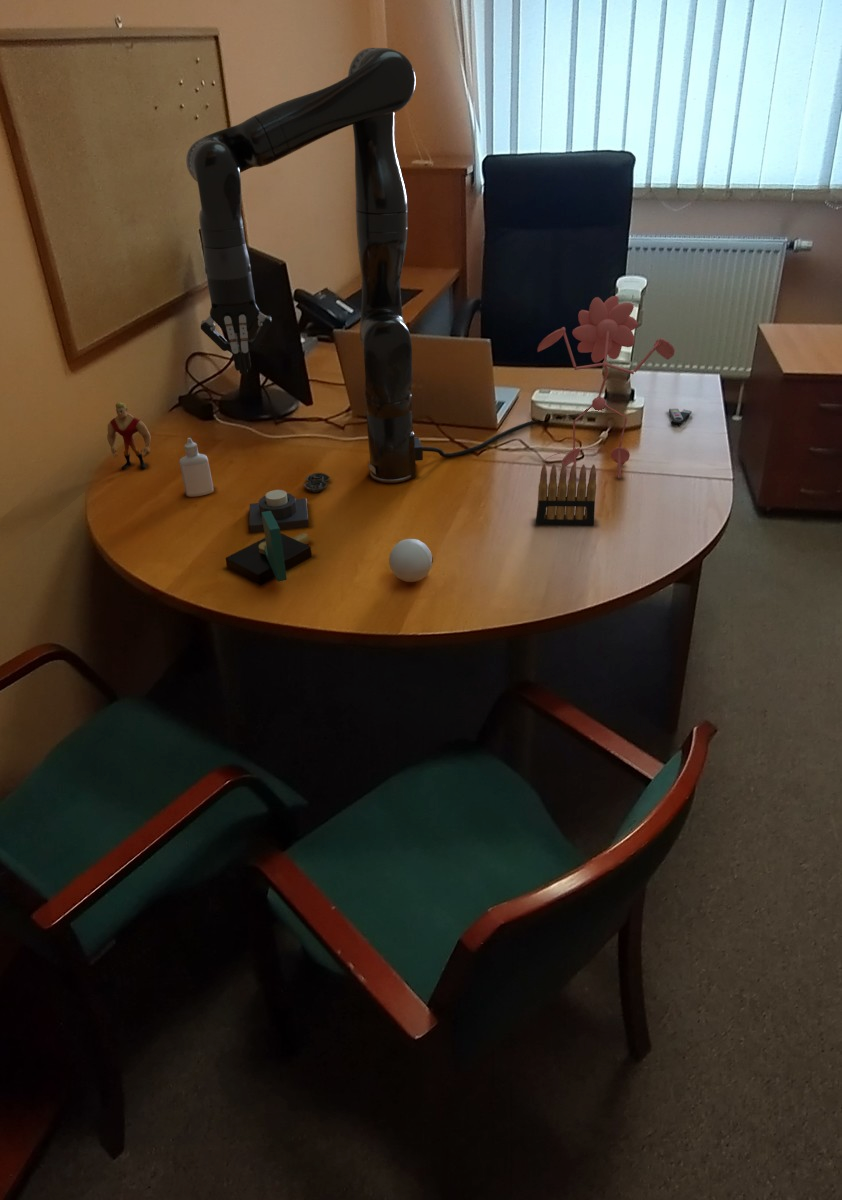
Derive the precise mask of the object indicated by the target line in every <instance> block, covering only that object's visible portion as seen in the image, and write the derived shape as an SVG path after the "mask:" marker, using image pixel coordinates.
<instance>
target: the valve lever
mask: <svg viewBox="0 0 842 1200" xmlns="http://www.w3.org/2000/svg"><path fill="white" fill-rule="evenodd" d="M261 514H262V520H263V527H264V532H263V533H264V538H265V540H266V541H265V542H262V543H260V544H259V552H260V553H262V554H265V555H266V557H267V560H268V562H269V564H270V566H271V568H272V571H273V573H274V575H275V580H276V582H278V583H279V582H284V581H287V580H288V577H287V571H286V570H285V563H284V556H283V549H282V542H281V534H280V533H281V530H280V528H279V526H278V524H277V522H276V520H275V518H274V516H273V514H272V512H271V511H266V512H261Z"/></svg>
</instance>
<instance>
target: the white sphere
mask: <svg viewBox="0 0 842 1200" xmlns="http://www.w3.org/2000/svg"><path fill="white" fill-rule="evenodd" d="M388 557H389V558H388V563H389V568H390V570H391V572H392V573H393V575H394V576H395V577H396V578H397V579H400V580H401V581H403V582H406V583H415V582H419V581H421V580H423V579H424V578H426V576H428V574H429V572H430V571H431V569H432V566H433V563H434V557H433V556H432V552H431V550H430V548H429V546H428V545H427V544H426V543H424V542H422V541H421V540H419V539H417V538H404V539H401V540H400V541H399V542H397V543H396V544H395V545H394V546H393V547H392V549H391V551H390V552H389V556H388Z"/></svg>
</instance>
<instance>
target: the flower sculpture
mask: <svg viewBox="0 0 842 1200" xmlns="http://www.w3.org/2000/svg"><path fill="white" fill-rule="evenodd" d="M619 302H620V301H619V296H617V295H611V296H610V297H608V298H607V299H606V300H605V301H604V302H603V300H602V299H601V298H600V297H599V296H596V297H594V298H593V299H592V300H591V303H590V304H589V309H588V310H586V309H581V310H580V311H579V312H578V317H577V319H578V323H579V326H576V327H575V328H573V329H572V332H571V333H572V336H573V337H574V338H575V340H578V341H579V343H578V345H577V352H579V353H580V354H584V353H585V354H587V353H591V355H590V357H591V361H592V362H593V363H594V364H593V363H592V364H587V365H579V366H577V363H576V360H575V357H574V355H573V351H572V349H571V345H570V342H569V338H568V336H567V333H566V330H567V329H566V327H565V326H563V327H560V328H559V329H556V330H554V331H552V332H551V333H549V334H547V335H546V336H545V337H544V338H543V339H542V340H540V343H538V346H537V350H536V351H537V353H539V352H542V351H544V350H546V349H547V348H549V347H552V346H553V345H554V344H555V343H557V342H558V341H560V339H561V338H562V337H563V338H564V342H565V345H566V348H567V351H568V355H569V357H570V361H571V363H572V367H573V368H574V371H579V370H583V369H590V368H591V369H592V368H598V367H602V368H604V371H605V374H604V377H603V380H602V383H601V386H600V389H599V392H598V396H596V397H594V399H593V400H592V401H591V405H590V406H588V408H585V409H586V410H585V411H584V412H583V413H582V414H579V416H577V417H576V418H575V419H574V420H573V422H572V449H571V450H566V451H565V450H564V451H562V452H560V451H557V452H556V453H553V454H552V455H550V456H548V457H547V458H545V459H544V461H546V460H547V459H549V458H551V457H553V456H556V455H559V454H563V453H567V452H568V453H567V454H566V455H565V456H564V457H563V458H562V460H561V467H562V466H563V464H564V465H565V467H568V466H569V465H570V464H572V463H573V464H574V465H575V468H576V469H577V458H578V457H579V456H580V452H581V448H580V447H576V444H575V443H576V421H578V420H579V419H580V418H581V417H583V416H584V415H585V414H587V413H586V412H587V411H588V410H589V409H590V408H594V409H595V410H598V411H597V412H600V411H599V410H601V411H603V410H602V409H604V408H605V407H607V408H609V409H608V410H611V411H613V412H614V413H616V414H618V415H619V416H621V417H623V418H624V422H623V426H622V430H621V436H620V439H619V445H618V446H616V447H614V448H612V450H611V452H610V458H611V459H612V462H615V463H617V479H621V472H622V471H621V469H622V468H621V467H622V466H624V464H626V463H627V462H628V461H629V460H630V456H631V454H630V451H629V450H628V449H627V448H626V447H623V446H622V444H623V439H624V435H625V429H626V425H627V421H628V418H627V416H626V415H625V414H623V413H621V412H620V411H618V410H616V409H615V408H611V407H609V406H608V405H609V404H606V399H605V398H604V397H602V396H601V395H602V393H603V390H604V387H605V384H606V382H607V379H608V376H609V372H610V370H609V368H610V369H614V370H617V371H620V372H624V373H628V374H630V375H635V373H637V372H638V371H639V369H640V368H641V367H642V366H643V365H644V363H645V362H646V361H647V360H648V359H649V358H650V357H651V355H652V354H653V353H654V352H655V351H656V353H657V354H659V355H660V356H661V357H662V358H664V359H665V360H666V361H667V360H671V358H672V357H674V355H675V350H676V349H675V347H674V346H673V344H672V343H670V341H668V340H666V339H664V337H660V338H659V339H656V340H655V342H654V345H653V347H652V348H651V350H650V351H649V352H648V353H647V354H646V355H645V356H644V358H643V359H642V360H641V361H640V362H639V364H638V365H637V366H636V367H635V368H634V369H633V370H630V369H627V368H623V367H620V366H617V365H613V364H611V363H608V358H609V359H612V360H617V359H618V358H619V356H620V355H621V354H620V353H621V352H622V347H624V348H633V346H634V345H635V343H636V339H635V335H634V332H633V331H634V330H635V329H637V328H638V327H639V323H638V320H636V319H635V318H634V316H631V315H632V313H633V311H634V308H635V307H634V303H631V302H622V303H619ZM602 360H603V362H601V361H602ZM582 451H594V449H593V448H592V449H590V448H589V449H588V448H587V449H585V448H582ZM597 451H599V452H600V451H601V452H605V450H603V449H597ZM606 452H607V453H608V452H609V450H606Z"/></svg>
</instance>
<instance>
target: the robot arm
mask: <svg viewBox="0 0 842 1200" xmlns="http://www.w3.org/2000/svg"><path fill="white" fill-rule="evenodd" d="M415 89H416V73H415V69H414V67H413V64H412V63H411V61H410V60H409V58H408V57H406V55H404V54H403V53H402V52H400V51H398V50H396V49H393V48H387V47H367V48H364V49H362V50H360V51H359V52H358V53H357V54H356V55H355V56H354V57H353V58H352V61H351V63H350V65H349V68H348V73H347V76H346V77H345V78H343V79H341V80H339V81H337V82H335V83H333V84H330V85H328V86H326V87H323V88H322V89H318V90H316V91H314V92H310V93H307V94H304V95H300V96H297V97H295V98H292V99H288V100H286V101H282V102H280V103H279V104H275V105H273V106H272V107H269V108H267V109H265V110H263V111H261V112H259V113H256V114H255V115H253V116H251V117H249V118H247V119H246V120H244V121H242V122H241V123H237V124H236V125H233V126H229V127H227V128H224V129H221V130H218V131H215V132H213V133H210V134H208V135H205V136H203V137H201V138H199V139H197V140H196V141H194V142H193V143H192V144H191V146H190V147H189V149H188V151H187V152H186V153H187V154H186V158H185V159H186V160H185V161H186V162H185V163H186V168H187V171H188V173H189V175H190V176H191V178H192V179H193V180H194V181H195V182H196V183H197V187H198V194H199V201H200V207H201V208H200V211H199V216H198V220H199V229H200V235H201V241H202V246H203V247H202V248H203V262H204V273H205V275H206V280H207V281H206V282H207V287H208V292H209V298H210V304H211V305H210V307H211V308H210V310H209V316H208V317H206V318H205V320H202V321H201V323H200V330H201V331H202V332H203V333H204V334H205V335H206V336H207V337H208V338H209V339H210V340H211V341H212V342H213V343H215V345H216V346H217V347H219V349H220V350H221V351H223V352H230V353H231V354H232V356H233V364H234V369H235V370H236V371H237V372H238V371H239V374H240V375H241V374H248V373H249V370H251V369H252V361H251V355H250V351H252V350H254V349H257V348H258V347H259V346H260V344H261V342H262V340H263V339H264V337H265V336H266V334H267V332H268V330H269V329H270V328H271V326H272V324H273V319H272V317H271V315H266V314H264V313H263V312H262V311H260V308H259V305H258V304H257V302H256V299H255V289H254V284H253V283H254V282H253V276H252V267H251V262H250V255H249V252H248V248H247V243H246V237H245V229H244V222H243V217H242V180H241V179H242V178H241V173H243V172H245V171H247V170H250V169H252V168H262V167H265V166H268V165H271V164H272V163H274V162H276V161H280V160H281V159H283V158H284V157H287V156H288V155H291V154H293V153H295V152H296V151H299V150H301V149H302V148H304V147H306V146H308V145H310V144H312V143H315V142H316V141H318V140H321V139H322V138H324V137H326V136H329V135H330V134H333V133H336V132H337V131H340V130H341V129H344V128H346V127H347V128H348V127H350V126H352V132H353V141H354V180H355V181H354V183H355V224H356V225H355V228H356V239H357V251H358V259H359V266H360V267H359V268H360V275H361V308H360V323H359V340H360V343H361V346H362V349H363V359H364V360H363V361H364V375H365V377H364V378H365V379H364V381H365V382H364V398H365V411H366V413H365V414H366V427H367V440H368V441H367V442H368V456H369V461H368V460H367V468H368V469H369V475H370V478H371V479H373V481H376V482H379V483H384V484H398V483H402V482H406V481H408V480H410V479H415V478H417V467H416V462H418V461H423V460H424V452H433V453H438V454H439V455H440V457H442V458H454V457H459V456H463V455H468V454H470V453H473V452H476V451H478V450H481V449H483V448H485V447H487V446H489V445H491V443H493V442H495V441H497V440H500V439H501V438H503V437H505V436H507V435H509V434H511V433H515V432H517V431H519V430H522V429H524V428H527V427H530V426H533V425H536V424H539V423H543V422H544V421H540V420H537V421H534V422H533V420H534V419H533V420H529V421H526V422H524V423H521V424H518V425H516V426H514V427H511V428H509V429H507V430H504V431H502V432H500V433H498V434H496V435H494V436H492V437H491V438H488V439H487V440H485V441H484V442H482V443H480V444H478V445H475V446H472V447H469V448H465V449H463V450H460V451H454V452H444V451H443V450H442V449H441V448H438V447H434V446H423V444H422V442H421V439H420V437H418V436H417V437H415V433H414V430H413V405H412V404H413V403H412V385H413V345H412V337H411V333H410V331H409V328H408V327H407V325H406V324H405V321H404V315H403V306H402V305H403V304H402V294H401V281H402V280H401V278H402V271H403V266H404V261H405V257H406V252H407V251H406V250H407V243H408V198H407V190H406V187H405V183H404V178H403V175H402V170H401V167H400V163H399V159H398V156H397V152H396V144H395V113H397V112H399V111H401V110H403V108H405V107H406V106H407V105H408V103H409V102H410V101H411V99H412V97H413V96H414V92H415ZM257 319H258V320H257ZM256 320H257V325H258V328H257V330H256V332H255V333H254V334H253V336H252V337H251V339H250V340H249V331H251V329H253V326H254V324H255V322H256ZM215 323H216V324H215ZM216 325H217V326H218V327H219V328H220V329H221V330H222V331H223V332H224V333H226V334H227V337H228V340H227V339H226V338H225V337H224V336H223V335H222V334H221V333H219V331H218V330H216ZM238 333H239V337H240V339H239V340H240V345H239V340H238V335H237V334H238Z"/></svg>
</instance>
